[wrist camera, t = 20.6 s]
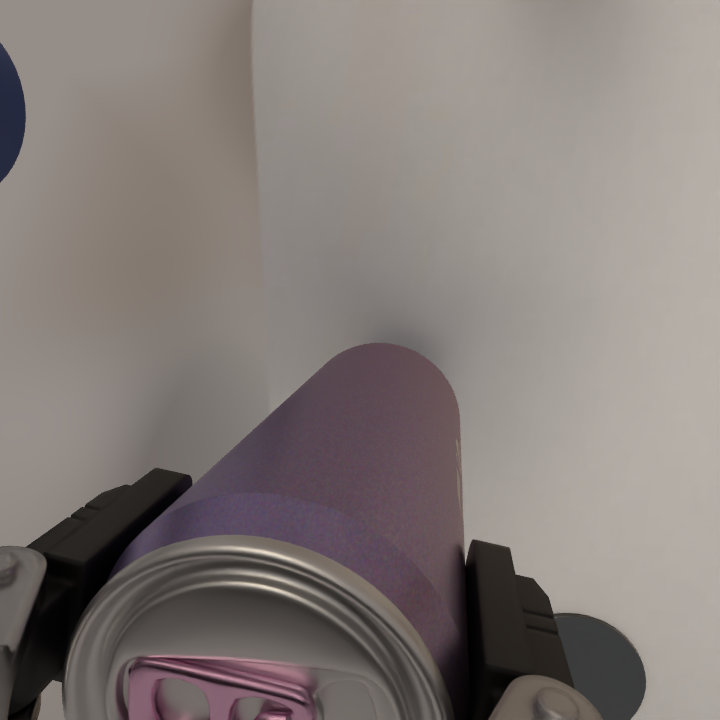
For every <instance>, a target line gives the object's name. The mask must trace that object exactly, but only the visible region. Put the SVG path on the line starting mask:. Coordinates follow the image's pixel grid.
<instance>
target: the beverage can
mask: <svg viewBox="0 0 720 720" xmlns="http://www.w3.org/2000/svg"><path fill="white" fill-rule="evenodd" d="M469 690H470V689H469V661H468V633H467V606H466V578H465V550H464V522H463V494H462V466H461V439H460V415H459V408H458V403H457V400H456V397H455V394H454V392H453V389H452V387H451V385H450V384H449V382H448V380H447V379H446V378H445V376H444V375H443V374H442V372H441V371H440V370H439V369H438V368H437V367H436V366H435V365H434V364H433V363H432V362H431V361H429V360H428V359H427V358H425V357H424V356H422V355H420V354H419V353H417V352H415V351H413V350H410V349H408V348H405V347H402V346H399V345H394V344H387V343H370V344H363V345H359V346H356V347H352V348H350V349H347V350H345V351H343V352H341V353H340V354H338V355H336V356H335V357H334V358H332V359H331V360H330V361H328V362H327V363H326V364H325V365H324V366H323V367H322V368H321V369H320V370H319V371H317V372H316V373H315V374H314V375H313V376H312V377H311V378H310V379H309V380H308V381H306V382H305V383H304V384H303V385H302V386H301V387H300V388H299V389H298V390H297V391H296V392H294V393H293V394H292V395H291V396H290V397H289V398H288V399H287V400H286V401H285V402H283V403H282V404H281V405H280V406H279V407H278V408H277V409H276V410H275V411H274V412H273V413H271V414H270V415H269V416H268V417H267V418H266V419H265V420H264V421H263V422H262V423H260V424H259V425H258V426H257V427H256V428H255V429H254V430H253V431H252V432H251V433H250V434H249V435H247V436H246V437H245V438H244V439H243V440H242V441H241V442H240V443H239V444H238V445H236V446H235V447H234V448H233V449H232V450H231V451H230V452H229V453H228V454H227V455H225V456H224V457H223V458H222V459H221V460H220V461H219V462H218V463H217V464H216V465H214V466H213V467H212V468H211V469H210V470H209V471H208V472H207V473H206V474H205V475H204V476H203V477H201V478H200V479H199V480H198V481H197V482H196V483H195V484H194V485H193V486H191V487H190V488H189V489H188V490H187V491H186V492H185V493H184V494H183V495H182V496H181V497H179V498H178V499H177V500H176V501H175V502H174V503H173V504H172V505H171V506H170V507H168V508H167V509H166V510H165V511H164V512H163V513H162V514H161V515H160V516H159V517H158V518H156V519H155V520H154V521H153V522H152V523H151V524H150V525H149V526H148V527H147V528H145V529H144V530H143V531H142V532H141V533H140V534H139V535H138V536H137V537H136V538H135V539H134V540H133V541H132V542H131V543H130V544H129V546H128V547H127V548H126V549H125V551H124V552H123V553H122V555H121V556H120V558H119V559H118V561H117V562H116V564H115V566H114V567H113V569H112V571H111V573H110V575H109V577H108V580H107V582H106V584H105V585H104V586H103V587H102V588H101V589H100V590H99V591H98V593H97V594H96V595H95V596H94V597H93V599H92V600H91V601H90V603H89V604H88V606H87V607H86V609H85V610H84V612H83V613H82V615H81V617H80V619H79V621H78V622H77V624H76V626H75V629H74V631H73V633H72V636H71V639H70V642H69V645H68V648H67V652H66V657H65V661H64V668H63V676H62V702H63V710H64V717H65V720H466V717H467V711H468V706H469Z"/></svg>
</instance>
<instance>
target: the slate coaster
mask: <svg viewBox="0 0 720 720" xmlns="http://www.w3.org/2000/svg"><path fill="white" fill-rule="evenodd" d="M554 620H555V621H556V625H557V628H558V636H560V638H561V642H562V645H563V649H564V652H565V656H566V659H567V663H568V666H569V670H570V673H571V677H572V680H573V683H574V687H575V690H576V691H578V692H579V693H580V694H582V695H583V696H584V697H585V698H586V699H588V700H589V701H590V702H591V703H592V705H593V706H594V707H595V708H596V709H597V711H598V712H599V713H600V715H601V716H602V718H603V720H630V719H631V718H632V717H633V716H634V715H635V713H636V712H637V710H638V709H639V707H640V705H641V703H642V700H643V698H644V693H645V688H646V677H645V671H644V667H643V664H642V661H641V659H640V657H639V654H638V653H637V651H636V649H635V648H634V646H633V645H632V644H631V643H630V641H629V640H628V639H627V638H626V637H625V636H624V635H623V634H622V633H620V632H619V631H618V630H616V629H615V628H614V627H612V626H610V625H608V624H607V623H605V622H602V621H600V620H598V619H595V618H592V617H588V616H584V615H578V614H554Z"/></svg>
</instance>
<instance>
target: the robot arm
mask: <svg viewBox="0 0 720 720" xmlns="http://www.w3.org/2000/svg"><path fill="white" fill-rule="evenodd" d="M191 486H192V478H191V476H190V475H186V474H182V473H178V472H173V471H168V470H164V469H160V468H155V469H153V470H152V471H150V472H149V473H148V474H146V475H145V476H144V477H142V478H141V479H140V480H138V481H137V482H136V483H134V484H133V485H132V486H130V485H123V486H120V487H117V488H114V489H112V490H109V491H106V492H103V493H101V494H100V495H98V496H97V497H96V498H94V499H93V500H91V501H90V502H88V503H87V504H86V505H85V507H81V508H80V509H79V510H77V511H76V512H74V513H73V514H72V515H71V517H70V518H69V517H68V518H66V519H65V520H63V521H62V522H60V523H59V524H58V525H56V526H55V527H53V528H52V529H50V530H49V531H48V532H46V533H45V534H43V535H42V536H41V537H40V538H38V539H36V540H35V541H34V542H32V543H31V544H29V545H28V546H27V547H19V546H2V547H0V720H37V719H38V715H39V711H40V706H41V692H42V691H43V690H44V689H45V688H46V686H47V685H48V684H49V683H50V682H51V681H52V680H55V681H59V682H62V676H63V668H64V661H65V657H66V652H67V648H68V645H69V642H70V639H71V636H72V633H73V631H74V629H75V626H76V624H77V622H78V621H79V619H80V617H81V615H82V613H83V612H84V610H85V609H86V607H87V606H88V604H89V603H90V601H91V600H92V599H93V597H94V596H95V595H96V594H97V593H98V591H99V590H100V589H101V588H102V587H103V586H104V585H105V584H106V582H107V580H108V577H109V575H110V573H111V571H112V569H113V567H114V566H115V564H116V562H117V561H118V559H119V558H120V556H121V555H122V553H123V552H124V551H125V549H126V548H127V547H128V546H129V544H130V543H131V542H132V541H133V540H134V539H135V538H136V537H137V536H138V535H139V534H140V533H141V532H142V531H143V530H144V529H145V528H147V527H148V526H149V525H150V524H151V523H152V522H153V521H154V520H155V519H156V518H158V517H159V516H160V515H161V514H162V513H163V512H164V511H165V510H166V509H167V508H168V507H170V506H171V505H172V504H173V503H174V502H175V501H176V500H177V499H178V498H179V497H181V496H182V495H183V494H184V493H185V492H186V491H187V490H188V489H189V488H190V487H191ZM465 578H466V606H467V633H468V661H469V689H470V690H469V706H468V711H467V717H466V720H603V718H602V716H601V715H600V713H599V712H598V711H597V709H596V708H595V707H594V706H593V705H592V703H591V702H590V701H589V700H588V699H586V698H585V697H584V696H583V695H582V694H580V693H579V692H578V691H576V690H575V687H574V683H573V680H572V677H571V673H570V670H569V666H568V663H567V659H566V656H565V652H564V649H563V645H562V642H561V638H560V636H558V628H557V625H556V621H555V620H554V614H553V611H552V607H551V604H550V600H549V597H548V596H547V595H546V593H545V592H544V591H543V590H542V589H541V587H540V586H539V585H538V584H537V583H536V581H535V580H534V579H533V578H528V577H524V576H520V575H515V571H514V566H513V561H512V556H511V551H510V548H509V547H505V546H501V545H496V544H492V543H487V542H483V541H478V540H474V539H473V540H472V542H471V544H470V548H469V551H468V556H467V560H466V565H465Z"/></svg>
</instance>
